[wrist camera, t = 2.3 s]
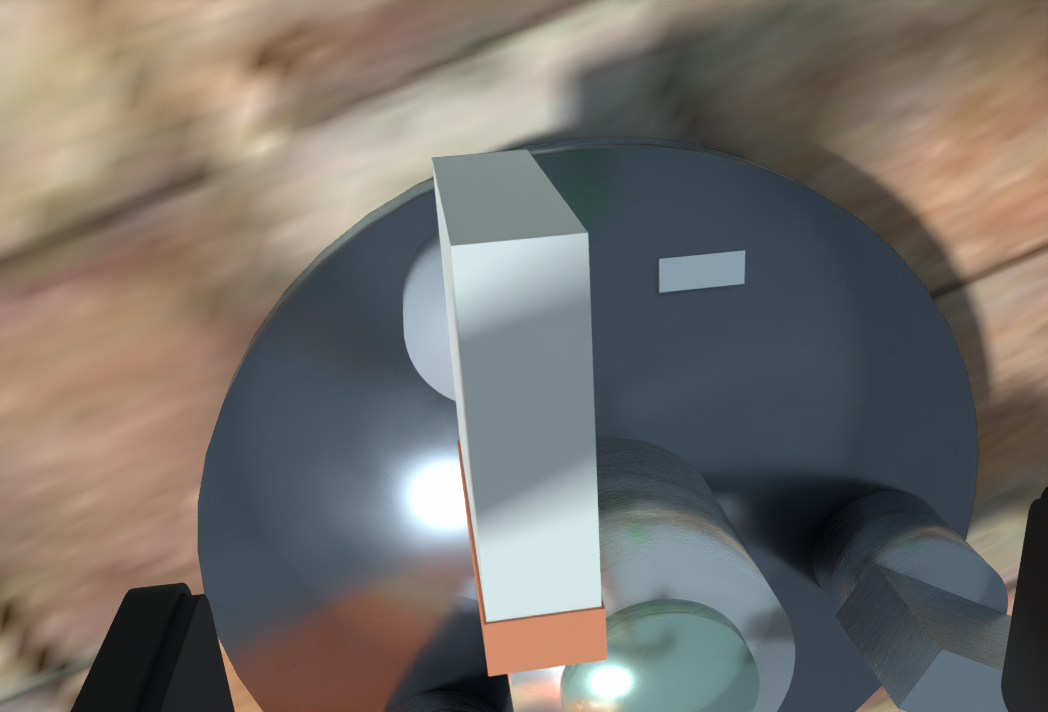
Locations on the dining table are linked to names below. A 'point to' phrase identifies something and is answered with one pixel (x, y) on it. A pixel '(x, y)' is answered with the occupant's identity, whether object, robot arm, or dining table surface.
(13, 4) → the dining table surface
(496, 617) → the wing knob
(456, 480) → the tribrach base
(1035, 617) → the robot arm
